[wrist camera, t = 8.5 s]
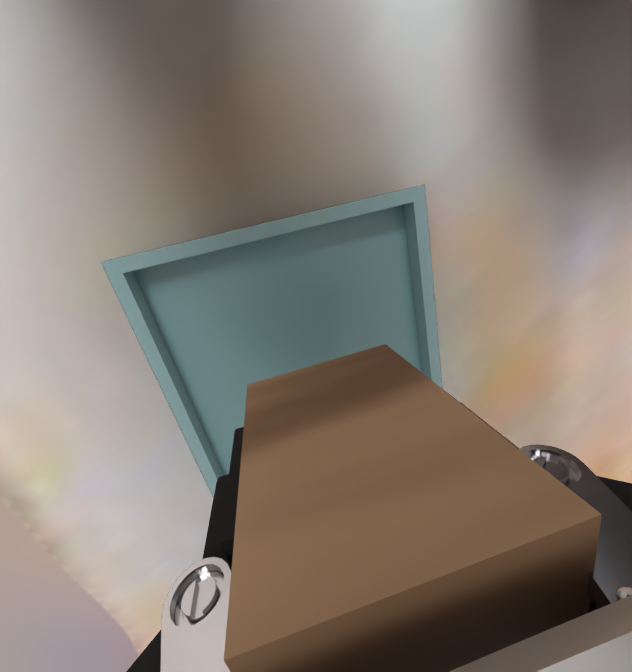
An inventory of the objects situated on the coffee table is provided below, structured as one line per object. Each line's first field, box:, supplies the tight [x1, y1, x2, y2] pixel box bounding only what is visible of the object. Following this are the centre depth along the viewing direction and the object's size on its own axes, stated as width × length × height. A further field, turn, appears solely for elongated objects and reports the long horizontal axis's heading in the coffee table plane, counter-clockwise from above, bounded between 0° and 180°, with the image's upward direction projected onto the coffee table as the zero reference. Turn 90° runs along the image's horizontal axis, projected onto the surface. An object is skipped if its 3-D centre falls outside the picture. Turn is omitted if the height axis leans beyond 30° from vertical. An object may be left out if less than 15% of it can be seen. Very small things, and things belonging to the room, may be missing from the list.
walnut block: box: [224, 344, 602, 672], centre depth 8 cm, size 5×5×7 cm
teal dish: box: [101, 184, 442, 498], centre depth 16 cm, size 14×14×2 cm
